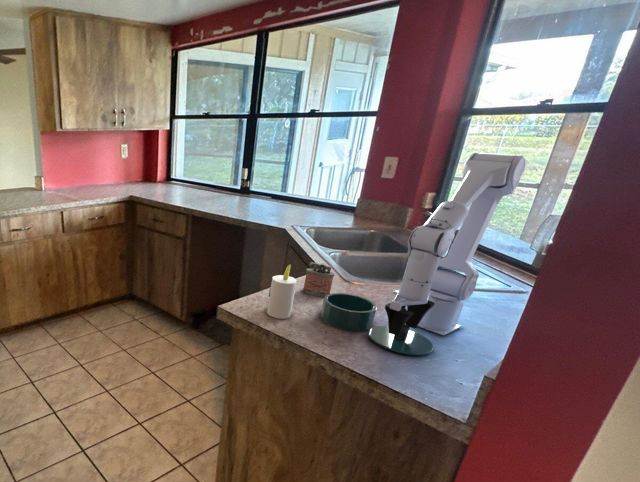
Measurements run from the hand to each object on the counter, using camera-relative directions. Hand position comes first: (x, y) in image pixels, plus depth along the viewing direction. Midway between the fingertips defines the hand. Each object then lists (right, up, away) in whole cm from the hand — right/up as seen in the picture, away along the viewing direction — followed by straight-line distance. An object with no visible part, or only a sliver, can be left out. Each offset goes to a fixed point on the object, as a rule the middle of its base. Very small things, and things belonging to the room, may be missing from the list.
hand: (402, 330), depth 98 cm
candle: (-24, +3, +16) cm, 29 cm away
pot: (-7, +1, +12) cm, 14 cm away
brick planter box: (-7, +8, +29) cm, 32 cm away
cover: (0, -3, +1) cm, 3 cm away
